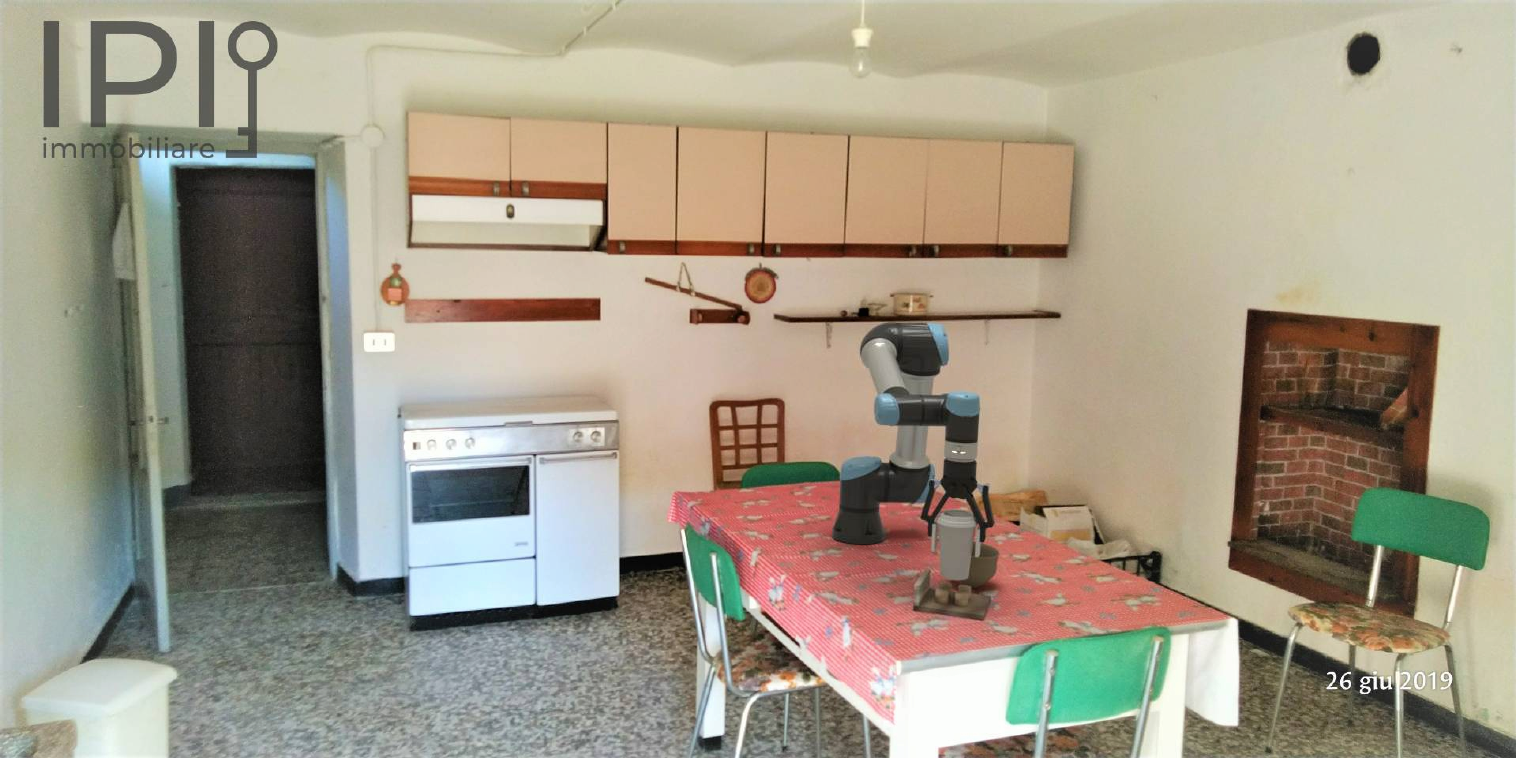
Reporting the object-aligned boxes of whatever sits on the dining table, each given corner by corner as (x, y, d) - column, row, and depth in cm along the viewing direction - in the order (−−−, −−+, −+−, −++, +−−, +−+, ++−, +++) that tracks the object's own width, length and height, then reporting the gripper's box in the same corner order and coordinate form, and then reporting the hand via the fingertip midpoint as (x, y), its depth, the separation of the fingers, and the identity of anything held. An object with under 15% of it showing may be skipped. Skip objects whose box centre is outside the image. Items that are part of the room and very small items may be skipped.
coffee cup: (929, 569, 242) (932, 508, 240) (968, 569, 243) (971, 508, 241) (939, 582, 233) (942, 518, 231) (980, 582, 234) (983, 519, 232)
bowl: (987, 597, 246) (989, 557, 244) (938, 587, 252) (940, 548, 251) (1004, 583, 256) (1006, 545, 255) (956, 574, 263) (958, 536, 262)
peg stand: (913, 610, 235) (914, 585, 234) (924, 592, 248) (925, 568, 248) (983, 620, 230) (984, 594, 229) (990, 601, 243) (992, 576, 242)
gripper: (909, 457, 235) (905, 551, 238) (1007, 466, 227) (1001, 563, 230) (916, 451, 242) (911, 542, 245) (1011, 460, 234) (1005, 554, 237)
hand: (955, 552), depth 237 cm, fingers closed on coffee cup, 9 cm apart
